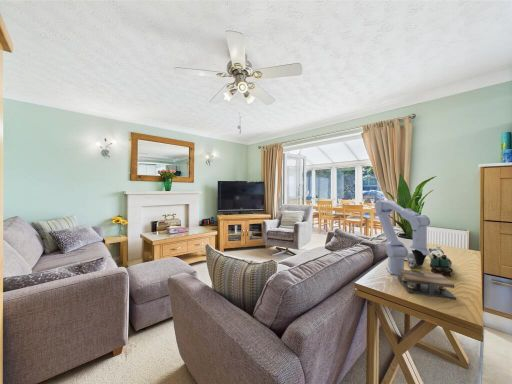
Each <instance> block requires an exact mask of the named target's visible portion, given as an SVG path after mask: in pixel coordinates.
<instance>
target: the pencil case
mask: <svg viewBox="0 0 512 384" xmlns="http://www.w3.org/2000/svg"><path fill="white" fill-rule="evenodd" d="M427 250H428V252H429V255H427V256H428V257H429V259H430V260H431V258H433V254H434V255H437V258H442V255H445V252H444V251H443V250H442V248H441V246H438V245H437V246H436V247H433V248H429V249H427ZM446 259H447V260H448V266H450V268H451V267H452V264H453V263H452V262H453V261H452V260H451V259H450V258H449V257H446ZM438 270H440V268H438Z"/></svg>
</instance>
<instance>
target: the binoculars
mask: <svg viewBox="0 0 512 384" xmlns="http://www.w3.org/2000/svg"><path fill="white" fill-rule="evenodd" d="M446 257H447V254H444V255H442V258H437V255H434V254H433V258H431V259H430V264H429V267H430V271H431V272H432V273H435V274H441V275H442V274H443V276H444V277H445V276H446V277H451V275H452V273H453V268H451V267H450V266H448V260H447V259H446ZM447 258H448V257H447ZM438 268H440V269H438Z"/></svg>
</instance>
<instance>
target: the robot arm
mask: <svg viewBox="0 0 512 384" xmlns="http://www.w3.org/2000/svg"><path fill="white" fill-rule="evenodd" d="M374 209H375V212H376V214H377V217H378V220H379V222H380V225H381V227H382V230H383V232H384V235H385V238H386V240H387V243H386V244H385V245H384V247H385V253H386V255H387V256H388V258H387V266H386V271H388V272H389V274H390V275H396V276H402V275H401V274H400V273H399V269H400V270H405V259H406V260H407V258H406V257H407V256H408V252H409V250H408V248H407V247H406V245H405V244H404V242H402V241H400V240H399V239H398V236H397V234H396V232H395V229H394V227H393V224H392V221H391V219H390V217H389V216H390V215H391V214H392V212H393V211H394V212H396V213H398V214H400V216H401V218H403V220H406V221H407V222H409V224H410V227H411V229H412V243H411V245H410V246H409V248H410V249H411V251H412V252H413V254H414V257H415V260H416V264H417V265H419V266H421V267H422V266H423V265H424V262H425V259H426V257H427V256H428V255H429V252H428V250H429V249H428V245H427V244H428V242H427V241H428V226H430V224H431V221H430V220H431V219H430V218H429V217H428V216H427V215H425V214H422V215H421V214H419V212H416V211H413V209H412V208H404V207H402V206H401V205H399V204H398V203H397V202H396V201H395V200H392V199H390V200H387V199H385V200H384V199H383V200H375V203H374Z"/></svg>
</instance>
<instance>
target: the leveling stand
mask: <svg viewBox="0 0 512 384" xmlns="http://www.w3.org/2000/svg"><path fill="white" fill-rule="evenodd" d="M397 280H398V281H399V282H400V284H401V285H402V286H403V287H404V289H405V290H406V291H407V293H408V294H413V295H420V296H426V297H427V296H429V297H436V298H442V299H449V300H457V297H456V296H455V294H453V293H451V291H449V290H448V289H447V287H441V286H434V284H431V283H428V285H426V284H418V283H410V282H407V281H406V280H405V279H404V277H403V276H401V277H399V276H398V277H397Z"/></svg>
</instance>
